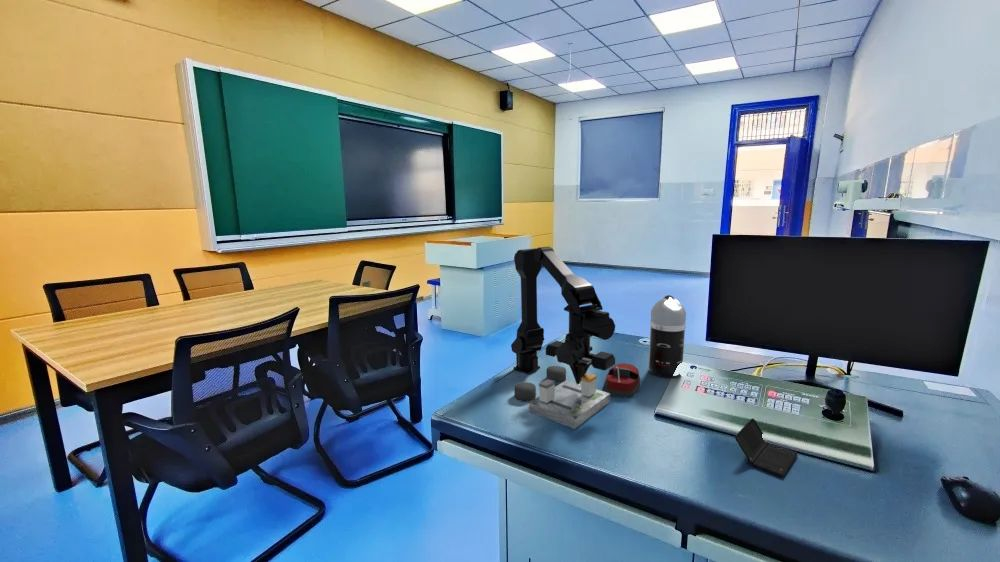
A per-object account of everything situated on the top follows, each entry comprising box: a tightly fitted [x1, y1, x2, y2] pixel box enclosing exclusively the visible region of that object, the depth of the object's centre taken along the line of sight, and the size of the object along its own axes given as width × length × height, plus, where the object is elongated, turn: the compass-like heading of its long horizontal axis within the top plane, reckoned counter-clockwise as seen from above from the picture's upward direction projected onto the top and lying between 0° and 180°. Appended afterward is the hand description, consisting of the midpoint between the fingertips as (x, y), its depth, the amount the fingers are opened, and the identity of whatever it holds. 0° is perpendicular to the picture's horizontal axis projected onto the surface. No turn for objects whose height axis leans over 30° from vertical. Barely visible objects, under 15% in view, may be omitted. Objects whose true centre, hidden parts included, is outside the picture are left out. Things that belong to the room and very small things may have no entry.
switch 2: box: [581, 373, 597, 397], centre depth 115 cm, size 2×4×5 cm
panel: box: [528, 379, 611, 430], centre depth 114 cm, size 14×18×3 cm
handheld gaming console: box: [734, 417, 798, 479], centre depth 90 cm, size 12×7×10 cm
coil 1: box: [514, 381, 537, 402], centre depth 120 cm, size 6×6×3 cm
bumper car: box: [603, 362, 641, 399], centre depth 124 cm, size 10×20×10 cm, turn 155°
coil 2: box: [546, 365, 567, 384], centre depth 131 cm, size 6×6×3 cm
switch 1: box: [538, 378, 556, 403], centre depth 112 cm, size 2×4×5 cm
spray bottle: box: [648, 294, 687, 378], centre depth 132 cm, size 10×10×25 cm
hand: (578, 384), depth 117 cm, fingers closed
